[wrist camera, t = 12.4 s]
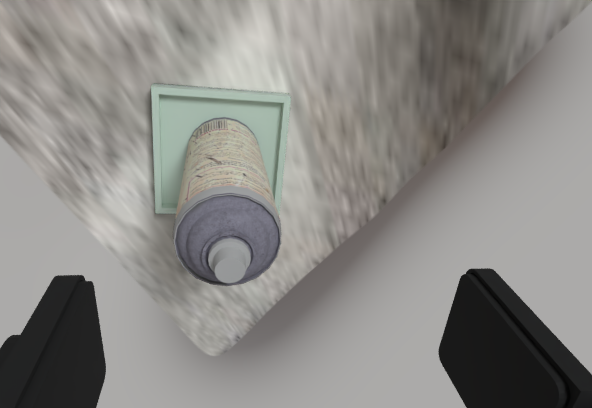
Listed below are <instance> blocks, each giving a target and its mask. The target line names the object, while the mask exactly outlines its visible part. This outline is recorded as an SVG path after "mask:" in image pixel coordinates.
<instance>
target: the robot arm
mask: <svg viewBox="0 0 592 408" xmlns="http://www.w3.org/2000/svg"><path fill="white" fill-rule="evenodd" d="M439 357H440V361H441V363H442V365H443V367H444V369H445V370H446V372H447V374H448V376H449V377H450V379H451V381H452V383H453V384H454V386H455V388H456V389H457V391H458V393H459V395H460V397H461V398H462V400H463V402H464V404H465V406H466V407H467V408H592V375H591V374H590V372H589V371H588V370H587V369H586V368H585V367H584V366H583V365H582V364H581V363H580V362H579V361H578V360H577V358H576V357H575V356H573V354H572V353H571V352H570V351H569V350H568V349H567V348H566V347H565V346H564V345H563V344H562V342H561V341H560V340H558V338H557V337H556V336H555V335H554V334H553V333H552V332H551V331H550V330H549V328H548V327H547V326H546V325H544V323H543V322H542V321H541V320H540V319H539V318H538V317H537V316H536V315H535V314H534V312H533V311H532V310H531V309H530V308H529V307H528V306H527V305H526V304H525V303H524V302H523V301H522V300H521V299H520V297H519V296H518V295H517V294H516V293H515V292H514V291H513V290H512V289H511V288H510V287H509V286H508V285H507V284H506V282H505V281H504V280H503V279H502V278H501V277H500V276H499V275H498V274H497V273H496V272H495V271H494V270H493V269H469V270H468V271H467V272H466V274H464V275H462V276H461V278H460V281H459V284H458V288H457V291H456V294H455V297H454V301H453V304H452V307H451V311H450V314H449V317H448V320H447V324H446V327H445V330H444V334H443V337H442V340H441V343H440V347H439ZM105 372H106V364H105V358H104V351H103V344H102V337H101V331H100V324H99V317H98V311H97V305H96V298H95V291H94V285H93V283H92V282H91V281H85V278H84V276H82V275H68V276H67V275H66V276H65V275H64V276H55V277H54V278H53V280H52V282H51V283H50V285H49V287H48V288H47V290H46V292H45V294H44V295H43V297H42V299H41V301H40V302H39V304H38V306H37V308H36V309H35V311H34V313H33V314H32V316H31V318H30V319H29V321H28V323H27V325H26V326H25V328H24V330H23V332H22V333H21V335H12V336H10V337H9V338H8V339H7V340H6V341H5V342H4V344H3V345H2V347H1V348H0V408H96V406H97V403H98V399H99V396H100V393H101V389H102V386H103V383H104V379H105Z"/></svg>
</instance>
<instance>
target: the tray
mask: <svg viewBox="0 0 592 408" xmlns="http://www.w3.org/2000/svg"><path fill="white" fill-rule="evenodd" d="M151 97H152V126H153V155H154V184H155V214H176V212H177V206H178V200H179V194H180V189H181V183H182V177H183V171H184V166H185V160H186V154H187V149H188V143H189V139H190V137H191V135H192V134H193V132H194V130H195V129H196V128H198V127H199V126H200V125H201V124H202V123H204V122H206V121H208V120H211V119H213V118H222V117H226V118H231V119H236V120H238V121H240V122H241V123H243V124H245V125H247V127H248V128H249V129H250V130H251V131H252V132H253V133H254V135H255V137H256V139H257V142H258V144H259V148H260V151H261V155H262V158H263V162H264V165H265V169H266V172H267V176H268V179H269V183H270V186H271V190H272V193H273V197H274V200H275V204H276V207H277V211H278V214H279V213H280V203H281V193H282V183H283V173H284V163H285V153H286V143H287V133H288V123H289V113H290V103H291V96H290V95H289V93H277V92H263V91H250V90H237V89H223V88H210V87H196V86H183V85H170V84H156V83H153V85H152V86H151Z"/></svg>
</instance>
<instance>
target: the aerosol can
mask: <svg viewBox="0 0 592 408" xmlns="http://www.w3.org/2000/svg"><path fill="white" fill-rule="evenodd" d="M173 239H174V246H175V251H176V256H177V258H178V259H179V261H180V262H181V264H182V266H183V267H184V269H185V270H187V271H188V272H189V273H190V274H192V275H193V276H194V277H195V278H197V279H199V280H202V281H204V282H207V283H209V284H213V285H222V286H231V285H238V284H243V283H246V282H248V281H250V280H253V279H255V278H257V277H259V276H260V275H261V274H262V273H264V272H265V271H266V270H268V269H269V268H270V266H271V265H272V263H273V262H274V260H275V259H276V257H277V255H278V252H279V249H280V245H281V223H280V218H279V214H278V211H277V207H276V204H275V200H274V197H273V193H272V190H271V186H270V183H269V179H268V176H267V172H266V169H265V165H264V162H263V158H262V155H261V151H260V148H259V144H258V142H257V139H256V137H255V135H254V133H253V132H252V131H251V130H250V129H249V128H248V127H247V125H245V124H243V123H241V122H240V121H238V120H236V119H231V118H226V117H222V118H213V119H211V120H208V121H206V122H204V123H202V124H201V125H200V126H199V127H198V128H196V129H195V130H194V132H193V134H192V135H191V137H190V139H189V143H188V149H187V154H186V160H185V166H184V171H183V177H182V183H181V189H180V194H179V200H178V206H177V212H176V217H175V223H174V229H173Z"/></svg>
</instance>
